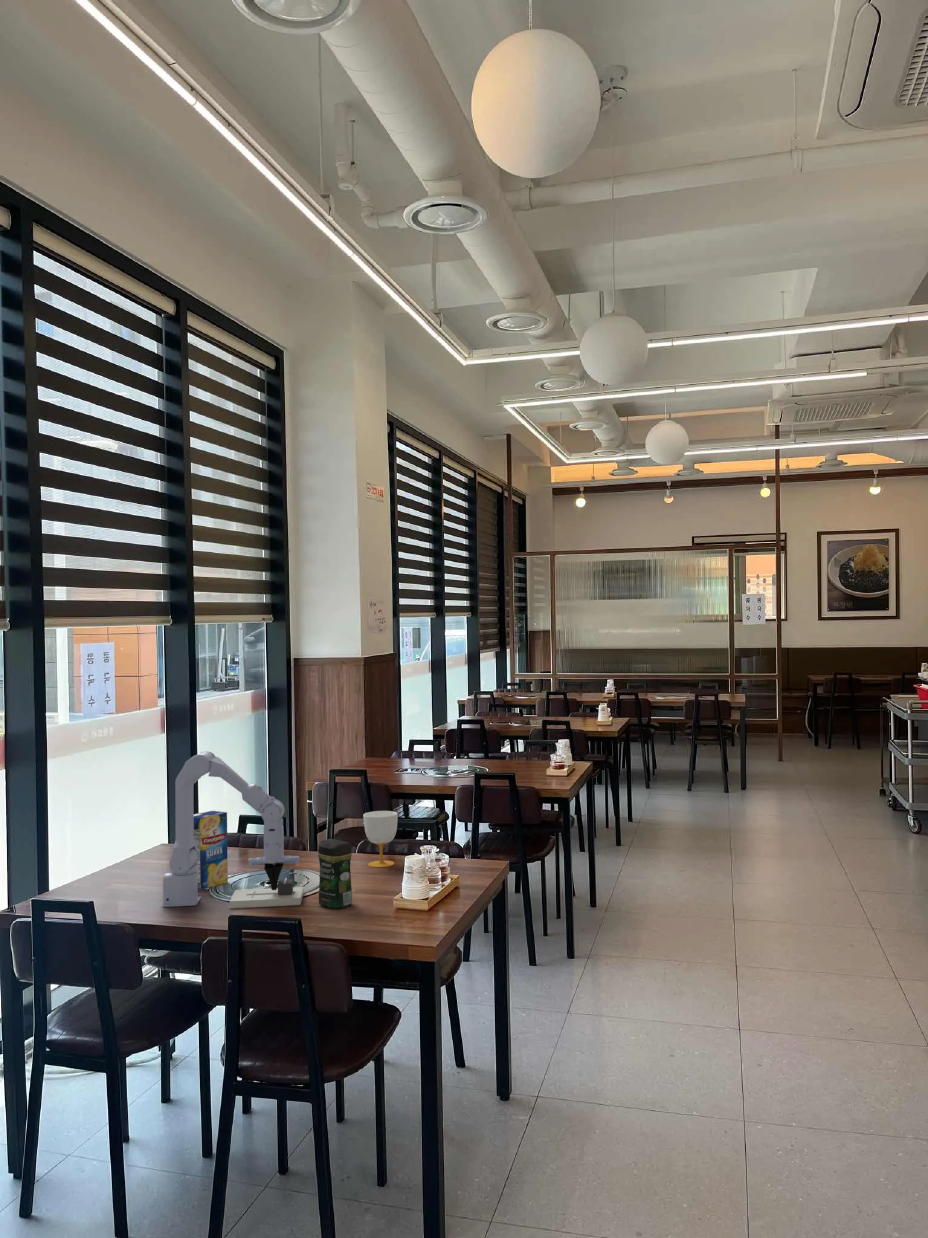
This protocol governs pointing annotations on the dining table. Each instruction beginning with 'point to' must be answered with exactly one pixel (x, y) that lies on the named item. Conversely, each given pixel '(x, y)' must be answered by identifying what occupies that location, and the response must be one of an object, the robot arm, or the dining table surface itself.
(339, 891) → the coffee jar
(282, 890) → the block
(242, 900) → the control panel
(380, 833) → the cup
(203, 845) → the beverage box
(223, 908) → the dining table surface
